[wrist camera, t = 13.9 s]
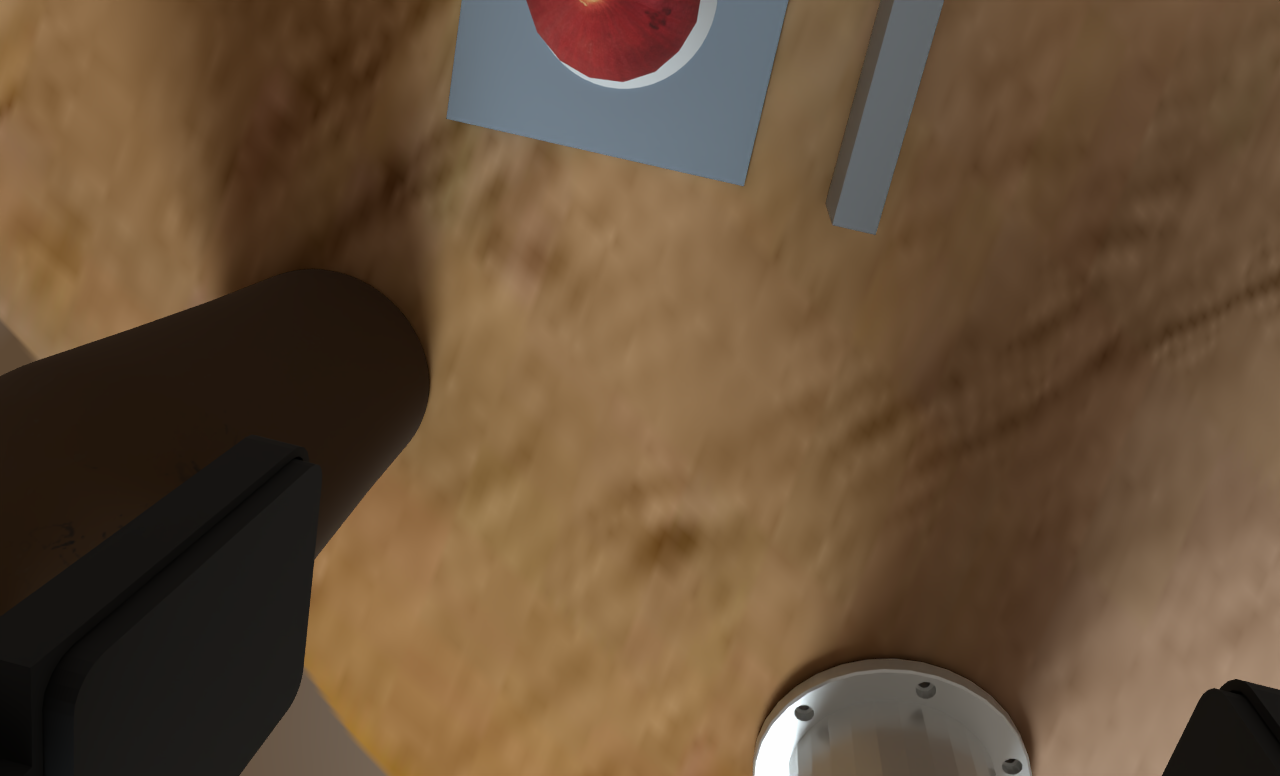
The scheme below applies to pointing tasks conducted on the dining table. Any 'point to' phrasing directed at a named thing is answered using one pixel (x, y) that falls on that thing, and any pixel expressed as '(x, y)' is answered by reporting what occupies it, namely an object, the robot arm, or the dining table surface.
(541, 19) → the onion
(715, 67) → the mat
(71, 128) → the dining table surface
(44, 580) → the olive oil
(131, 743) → the robot arm
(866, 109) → the low wall
